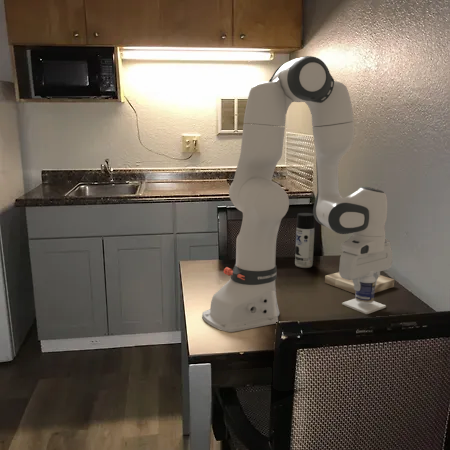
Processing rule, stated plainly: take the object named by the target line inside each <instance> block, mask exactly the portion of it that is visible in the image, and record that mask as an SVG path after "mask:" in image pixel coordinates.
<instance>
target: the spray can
mask: <svg viewBox="0 0 450 450" xmlns="http://www.w3.org/2000/svg"><path fill="white" fill-rule="evenodd" d="M296 218H297V219H296V234H295V257H294V258H295V259H294V264H295V265H294V266H296V267H297V268H302V269H309V268H312V267H313V263H314V262H313V261H314V247H315V246H314V244H315V227H316V226H315V223H316V219H315V217H314V214H313V212H312V213H311V212H299V213H297V215H296Z"/></svg>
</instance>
